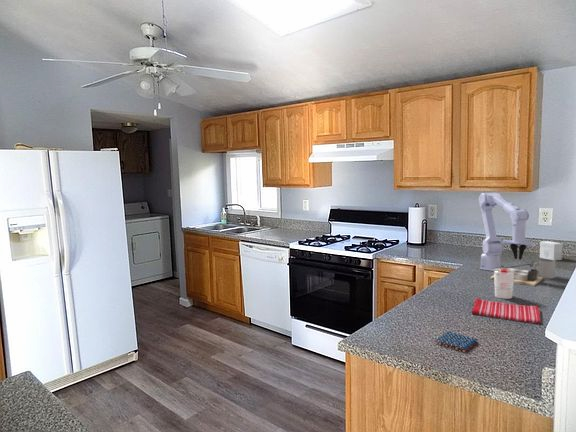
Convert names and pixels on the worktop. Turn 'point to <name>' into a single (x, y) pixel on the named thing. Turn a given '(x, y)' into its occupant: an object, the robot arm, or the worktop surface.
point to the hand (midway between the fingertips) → (518, 258)
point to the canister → (503, 282)
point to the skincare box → (550, 250)
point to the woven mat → (456, 341)
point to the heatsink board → (532, 283)
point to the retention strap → (519, 265)
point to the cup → (546, 268)
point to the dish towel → (507, 311)
